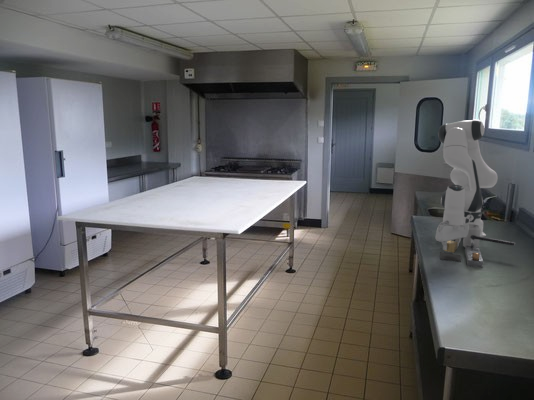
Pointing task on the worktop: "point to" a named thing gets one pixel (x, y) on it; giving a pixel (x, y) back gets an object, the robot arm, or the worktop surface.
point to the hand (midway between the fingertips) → (450, 248)
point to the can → (472, 231)
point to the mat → (450, 257)
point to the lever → (492, 240)
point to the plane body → (473, 255)
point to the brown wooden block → (451, 246)
